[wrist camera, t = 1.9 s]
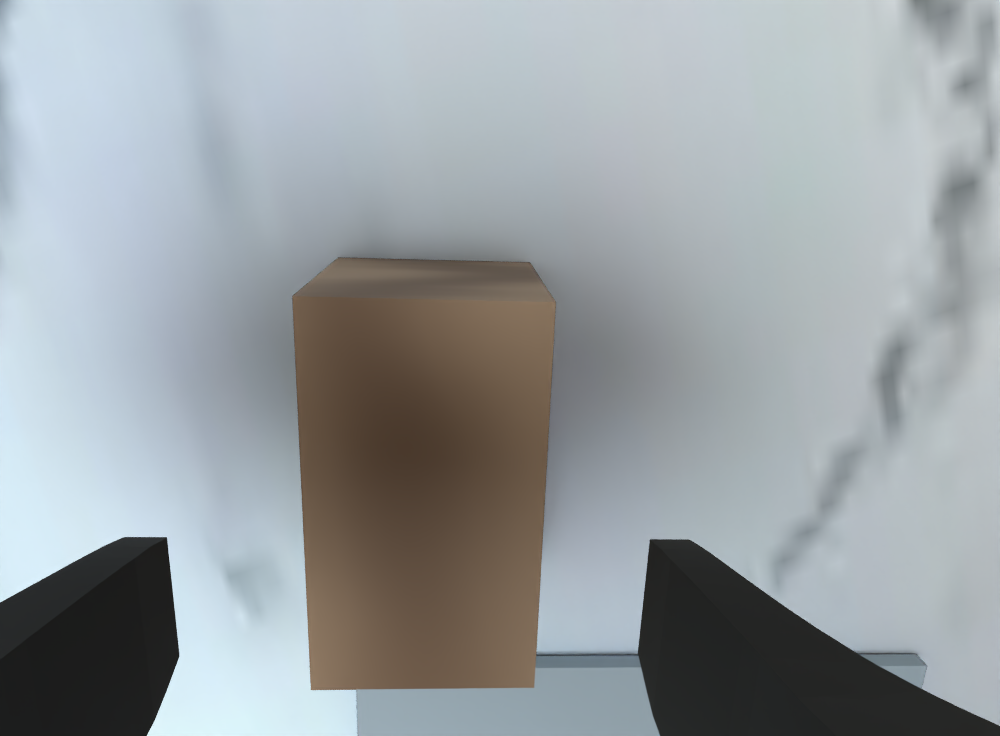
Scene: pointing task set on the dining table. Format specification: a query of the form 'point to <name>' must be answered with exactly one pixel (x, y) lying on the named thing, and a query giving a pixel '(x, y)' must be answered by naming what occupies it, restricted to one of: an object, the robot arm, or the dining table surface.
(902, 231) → the dining table surface
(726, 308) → the dining table surface
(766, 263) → the dining table surface
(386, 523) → the walnut block
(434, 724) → the rubber mat
